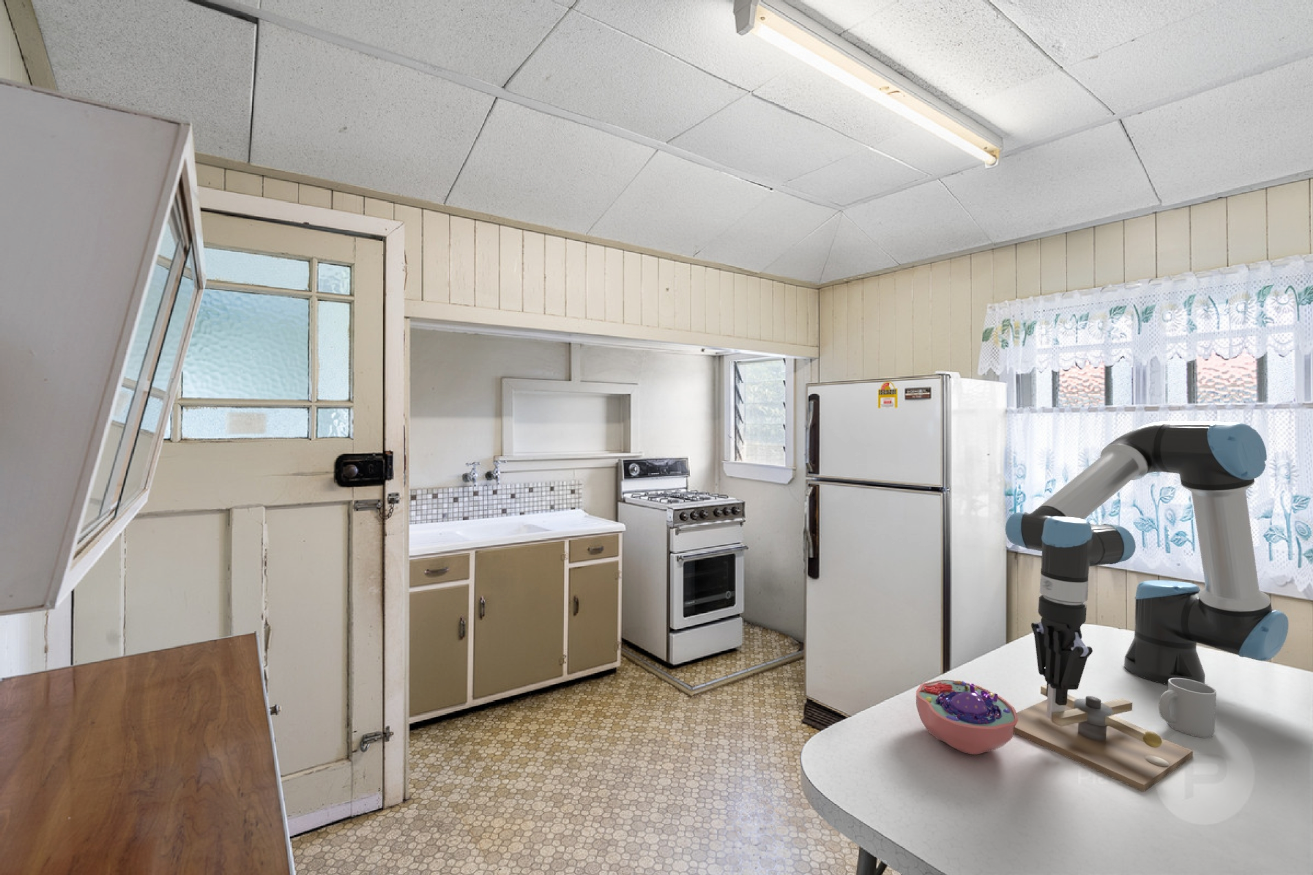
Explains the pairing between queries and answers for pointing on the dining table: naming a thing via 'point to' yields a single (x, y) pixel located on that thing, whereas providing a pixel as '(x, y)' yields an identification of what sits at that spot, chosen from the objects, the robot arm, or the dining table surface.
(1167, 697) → the cup
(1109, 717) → the capstan
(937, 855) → the dining table surface
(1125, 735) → the stand
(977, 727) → the cell model
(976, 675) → the dining table surface
